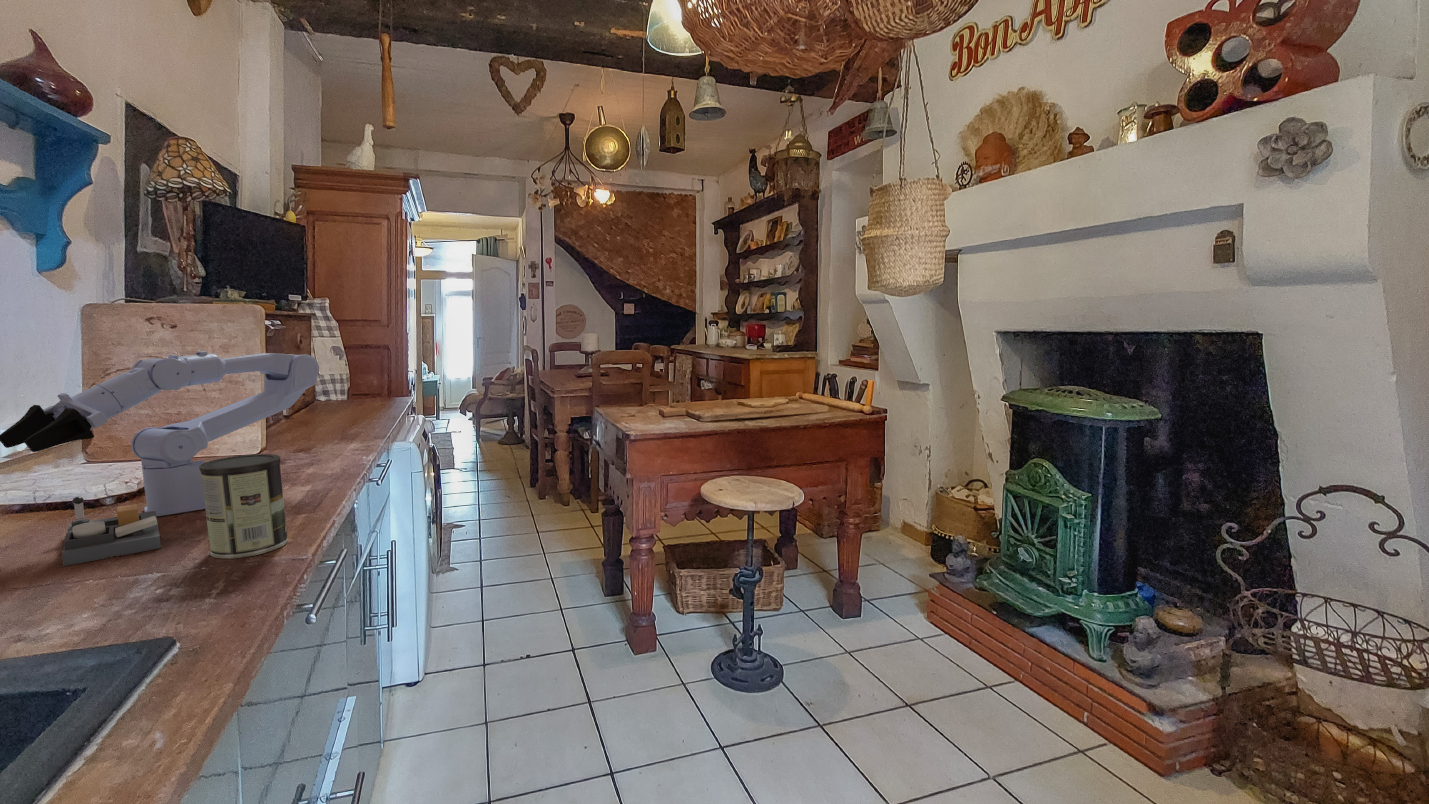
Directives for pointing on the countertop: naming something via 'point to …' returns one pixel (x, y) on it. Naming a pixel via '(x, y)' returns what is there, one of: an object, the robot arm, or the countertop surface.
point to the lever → (78, 507)
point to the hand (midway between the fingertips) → (15, 444)
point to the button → (89, 529)
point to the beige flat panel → (136, 526)
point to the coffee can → (244, 505)
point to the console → (109, 541)
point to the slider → (127, 514)
